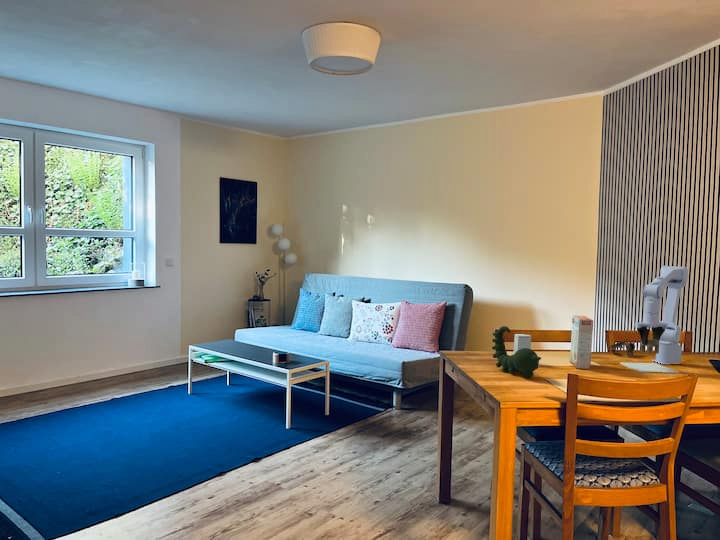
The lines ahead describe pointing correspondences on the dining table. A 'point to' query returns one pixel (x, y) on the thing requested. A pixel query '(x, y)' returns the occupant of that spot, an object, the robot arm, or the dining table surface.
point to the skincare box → (522, 342)
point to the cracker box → (581, 342)
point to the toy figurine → (514, 356)
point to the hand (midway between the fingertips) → (649, 344)
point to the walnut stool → (651, 344)
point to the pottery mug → (629, 346)
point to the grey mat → (648, 367)
